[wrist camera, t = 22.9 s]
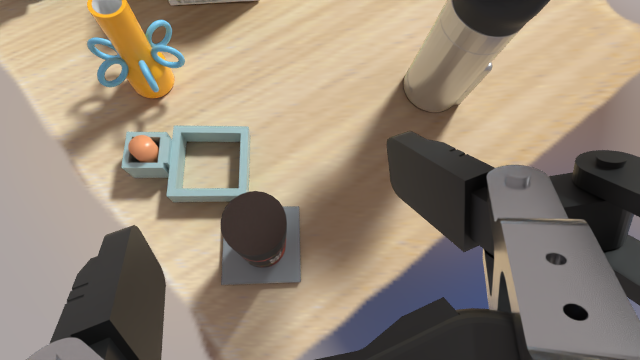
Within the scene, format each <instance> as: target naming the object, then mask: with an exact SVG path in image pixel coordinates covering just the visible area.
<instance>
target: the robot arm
mask: <svg viewBox="0 0 640 360" xmlns="http://www.w3.org/2000/svg"><path fill="white" fill-rule="evenodd" d="M549 1H550V0H447V2H446V3H445V5H444V7H443V9H442V11H441V12H440V14H439V16H438V18H437V20H436V21H435V23H434V25H433V27H432V28H431V30H430V32H429V34H428V36H427V37H426V39H425V41H424V43H423V45H422V46H421V48H420V50H419V52H418V54H417V55H416V57H415V59H414V61H413V62H412V64H411V66H410V68H409V69H408V71H407V73H406V75H405V77H404V82H403V84H404V91H405V93H406V95H407V97H408V99H409V100H410V101H411V102H412V103H413V104H414V105H415V106H417V107H418V108H420V109H422V110H425V111H429V112H441V111H445V110H447V109H449V108H450V107H451V106H453V105H459V104H460V103H461V102H462V101H463V100H464V99H465V98H466V97H467V96H468V95H469V93H470V92H471V91H472V90H473V89H474V88H475V87H476V86H477V85H478V84H479V83H480V82H481V81H482V79H483V78H484V77H485V76H486V75H487V74H488V73H489V72H490V71H491V70H492V63H491V62H492V61H493V60H494V59H495V57H496V56H497V55H498V54H499V53H500V52H501V51H502V50H503V49H504V47H505V46H506V45H507V44H508V43H509V42H510V41H511V39H512V38H513V37H514V36H515V35H516V34H517V33H518V32H519V31H520V29H521V28H522V27H523V26H524V25H525V24H526V23H527V22H528V21H529V20H531V19H532V18H533V17H534V16H536V15H537V14H538V13H539V12H540V11H541V10H542V9H543V7H544V6H545V5H546V4H547V3H548V2H549ZM387 153H388V162H389V171H390V180H391V184H392V187H393V189H394V191H395V193H396V194H397V195H398V197H400V198H401V199H402V200H403V201H404V202H405V203H407V204H408V205H409V206H410V207H411V208H413V209H414V210H415V211H416V212H417V213H418V214H420V215H421V216H422V217H423V218H424V219H425V220H427V221H428V222H429V223H430V224H431V225H433V226H434V227H435V228H436V229H437V230H438V231H440V232H441V233H442V234H443V235H444V236H446V237H447V238H448V239H449V240H450V241H451V242H453V243H454V244H455V245H456V246H457V247H458V248H460V249H461V250H462V251H463V252H466V251H468V250H470V249H472V248H474V247H477V246H479V245H480V246H481V247H482V248H483V263H484V272H485V280H486V288H487V296H488V304H489V309H474V308H473V309H472V308H471V309H459V310H455V309H454V308H453V307H452V306H451V305H450V304H449V303H448V302H447V301H446V299H445V298H444V297H443V298H441V299H439V300H437V301H434V302H432V303H430V304H428V305H426V306H424V307H422V308H419V309H418V310H415V311H413V312H411V313H409V314H407V315H404V316H402V317H401V318H400V319H399V320H397V321H396V322H395V323H394V324H393V325H391V326H390V327H389V328H388V329H387V330H385V331H384V332H383V333H382V334H381V335H379V336H378V337H377V338H376V339H375V340H373V341H372V342H371V343H370V344H369V345H368V346H366V347H365V348H363V349H361V350H359V351H355V352H350V353H345V354H340V355H335V356H330V357H325V358H321V359H316V360H640V321H639V319H638V317H637V315H636V313H635V311H634V309H633V307H632V306H631V304H630V302H629V300H628V298H629V299H631V300H633V301H634V302H635V303H637V304H638V305H640V241H639V240H637V239H635V238H634V237H631V236H630V235H628V231H629V228H630V225H631V222H632V218H633V216H634V215H637V216H639V217H640V157H637V156H634V155H631V154H628V153H623V152H618V151H609V150H598V151H590V152H586V153H583V154H580V155H579V156H578V157H577V158H576V160H575V165H574V170H573V173H567V174H561V175H555V176H548V175H547V174H546V173H544V172H543V171H541V170H539V169H536V168H533V167H529V166H524V165H506V166H501V167H497V168H494V167H492V166H490V165H488V164H486V163H484V162H482V161H480V160H478V159H476V158H474V157H472V156H470V155H468V154H467V155H465V153H464V152H462V151H460V150H458V149H457V150H456V149H455V148H454V147H452V146H450V145H448V144H445V143H443V142H438V141H433V140H427V139H425V138H423V137H421V136H419V135H417V134H416V133H414V132H411V131H408V132H405V133H402V134H399V135H397V136H394V137H391V138H389V139H388V140H387ZM165 288H166V283H165V277H164V274H163V271H162V268H161V266H160V264H159V262H158V261H157V259H156V257H155V255H154V254H153V252H152V250H151V248H150V247H149V245H148V243H147V241H146V240H145V238H144V236H143V234H142V233H141V231H140V230H139V228H138V227H137V226H135V225H133V226H130V227H127V228H124V229H122V230H119V231H116V232H113V233H110V234H107V235H106V236H105V237H104V240H103V242H102V245H101V248H100V251H99V254H98V256H97V257H94V258H91V259H90V260H89V261H88V262H87V264H86V265H85V266H84V267H83V268H82V269H81V271H80V272H79V273H78V274H77V277H76V279H75V282H74V284H73V287H72V291H71V292H70V294H69V297H68V299H67V304H65V307H64V309H63V312H62V314H61V317H60V319H59V322H58V324H57V326H56V329H55V332H54V334H53V336H52V339H51V341H50V344H49V345H47V346H45V347H43V348H41V349H40V350H38V351H37V352H35V353H34V354H33V355H31V356H30V357H29V358H28V359H26V360H161V352H162V335H163V321H164V304H165ZM627 297H628V298H627Z"/></svg>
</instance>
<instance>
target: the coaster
mask: <svg viewBox="0 0 640 360" xmlns="http://www.w3.org/2000/svg"><path fill="white" fill-rule="evenodd" d="M225 208H226V207H225ZM283 208H284V211H285V213H286V219H287V233H286V248H285V252H284V254H283V256H282V258H281V259H280V260H279V261H278V262H277V263H276V264H274V265H272V266H270V267H265V268H259V267H255V266H253V265H250V264H249V263H248V262H247V261H246V260H245V259H243V258H242V257H241V256H240V255H239V254H238V253H237V252H236V251H234V250H233V249H232V248H231V247H230V246H229V245H228V244H227V242H226V241H225V239H224V238H223V259H222V279H221V285H234V284H262V283H291V282H301V273H300V221H299V206H298V207H283Z"/></svg>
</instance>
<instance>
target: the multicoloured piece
mask: <svg viewBox="0 0 640 360" xmlns="http://www.w3.org/2000/svg"><path fill="white" fill-rule="evenodd" d="M87 7H88V9H89V11H90V12H91V14H92V15H93V17H94V18H95V20H96V21H97V23H98V24H99V26H100V27H101V29H102V30H103V32H104V33H105V35H106V36H107V37H108V39H109V40H110V41H109V40H107V39H103V38H91V39H89V40H88V42H87V46H88V48H89V50H90V51H91V52H92V53H94V54H95V55H96V56H98V57H100V58H102V59H105V60H106V61H104V62H103V63H102V64H101V65H100V67H99V69H98V72H97V77H98V80H99V82H100V83H101V84H102V85H103V86H106V87H115V86H117V85H119V84H121V83H122V82H123V81H124V80H125V79H126V78H127V80H128V81H129V82H130V84H131V85H132V87H133V88H134V89H135V91H136V92H137V93H138V94H140V95H141V96H143V97H146V98H159V97H162V96H164V95H166V94H167V93H168V92H169V91H170V90H171V89H172V87H173V85H174V75H173V73H172V71H171V69H170V68H179V67H182V66H183V65H184V63H185V59H184V57H183V55H182V54H181V53H180V52H179V51H178V50H176V49H174V48H172V47H169V46H166V45H167V44H168V43H169V41H170V39H171V36H172V28H171V26H170V24H169V23H168V22H167V21H165V20H157V21H154V22H153V23H152V24H151V25H150V26H149V27H148V29H147V31H146V34H144V32H143V30H142V28H141V27H140V25H139V23H138V21H137V19H136V17H135V15H134V13H133V12H132V10H131V8H130V6H129V4H128V2H127V0H88V2H87ZM160 26H164V27H165V28H166V35H165V37H164V39H163V40H162V41H161V42H159V43H157V44H154V43H153V42H152V34H153V32H154V31H155V29H156V28H158V27H160ZM95 44H102V45H106V46H108V47H110V48H112V49H114V50H115V51H116V52H117V54H118V55H115V56H113V55H108V54H105V53H103V52H101V51H99V50H98V49H97V48H96V47H95V46H94V45H95ZM160 51H164V52H168V53H171V54H173V55H175V56H176V57H177V58H178V60H179V61H178V62H168V61H166V59H165V57H164V56H163V54H162V53H161V52H160ZM113 64H120V65H121V66H122V71H121V74H120V75H119V77H118V78H116V79H115V80H113V81H107V80H105V77H104V75H105V72H106V70H107V69H108V68H109V67H110V66H111V65H113Z"/></svg>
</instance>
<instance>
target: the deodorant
mask: <svg viewBox="0 0 640 360" xmlns="http://www.w3.org/2000/svg"><path fill="white" fill-rule="evenodd" d="M221 231H222V234H223V237H224V239H225V241H226V242H227V244H228V245H229V246H230V247H231V248H232V249H233V250H234V251H236V252H237V253H238V254H239V255H240V256H241V257H242V258H243V259H245V260H246V261H247V262H248V263H249V264H250V265H253V266H255V267H259V268H265V267H270V266H272V265H274V264H276V263H277V262H278V261H279V260H280V259H281V258H282V256H283V254H284V252H285V248H286V233H287V219H286V213H285V211H284V208H283V207H282V205H281V204H280V202H279V201H278V200H277V199H275V198H274V197H273V196H271V195H269V194H267V193H264V192H258V191H253V192H246V193H243V194H240V195H239V196H237V197H235V198H234V199H232V201H231V202H230V203H229V204H228V205H227V206H226V208H225V210H224V212H223V214H222V218H221Z"/></svg>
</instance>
